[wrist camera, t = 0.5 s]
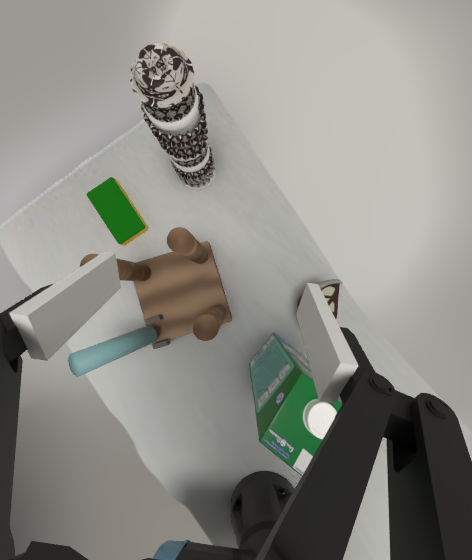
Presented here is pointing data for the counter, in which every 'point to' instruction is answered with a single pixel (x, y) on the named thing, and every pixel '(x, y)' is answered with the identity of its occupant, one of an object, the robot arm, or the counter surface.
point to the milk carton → (288, 404)
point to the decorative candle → (174, 111)
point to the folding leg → (110, 350)
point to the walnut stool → (178, 289)
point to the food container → (329, 294)
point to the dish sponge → (117, 211)
